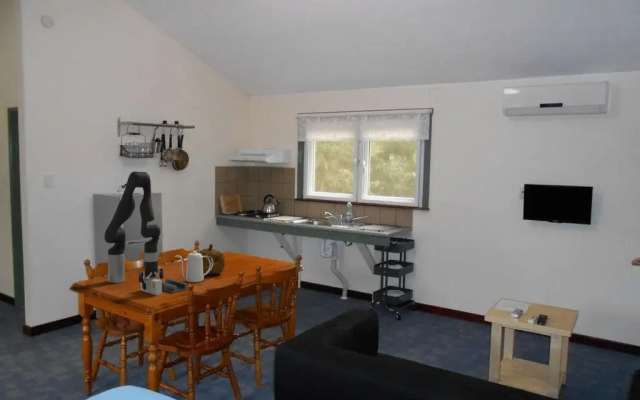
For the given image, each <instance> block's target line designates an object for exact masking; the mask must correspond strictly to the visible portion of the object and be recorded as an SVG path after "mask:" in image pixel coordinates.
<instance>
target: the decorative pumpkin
mask: <svg viewBox="0 0 640 400" xmlns="http://www.w3.org/2000/svg"><path fill="white" fill-rule="evenodd" d="M213 247H214V245H213V244H212V243H211V244H209V246H208V248H207V247H206V248H203V249H201V250H200V251H198V252H197V253H200V254H201V255H202V256H205V257H202V261H203V274H205V273H206V272H207V271H208V269H209V267H210V262H211V266H212V260H213V267H212V269H211V270H210V271H209V273H207V274H206V275H207V276H213V275H219V274H222V272H223V271H224V269H225V265H226V262H225V261H226V260H225V256H224V254H223V252H221V251H219V250H216V249H213ZM208 256H209V257H208ZM210 257H211V258H212V259H211V258H210ZM208 258H209V259H208ZM209 260H210V262H209ZM210 268H211V267H210ZM206 275H205V276H206Z"/></svg>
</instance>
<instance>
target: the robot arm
mask: <svg viewBox="0 0 640 400" xmlns="http://www.w3.org/2000/svg"><path fill="white" fill-rule="evenodd" d="M151 183H152V182H151V176H150V174H149V173H148V172H146V171H132V172H130V173H129V175H128V177H127V180H126V184H125V187H124V191H123V194H122V195H121V198H120V200H119V202H118V204H117V207H116V209H115V212H114V215H113V216H112V219H111V221H110V223H109V224H108V226H107V228H106V230H105V231H104V235H103V236H104V241H105V242H106V243H107V244H114V245H112V246H111V247H110V248H108V250H107V281H108V283H110V284H119V283H124V282H125V280H126V279H125V250H126V232H125V229H124V228H123V227H121V226H123V224H124V223H126V222H127V221H128V220H129V219H130V218H131V217H132V215H133V213H134V212H135V209H136V201H135V198H134V192H135V189H136V188H139V189H140V188H141V189H142V191H143V195H142V199H141V200H140V203H139V204H140V205H139V214H140V218H141V219H140V220H141V225H140V234H141V237H142V238H145V239H148V238H149V239H150V238H151V239H150V240H148V241H145V243H144V245H143V246H144V248H143V249H144V250H143V251H144V254H143V268H144V270H143V271H139V272H138V282H139V283H140V284H141V283H142V288H143V289H144V290H146V281H147V280H148V279H149V278H155V279H158V280H163V279H164V268H162V267H159V255H158V243H159V239H160V235H161V227H160V226H159V225H158V224H148V223H150V222H153V221H154V220H155V215H154V209H153V204H152V184H151ZM143 276H144V277H143ZM146 277H147V278H146Z"/></svg>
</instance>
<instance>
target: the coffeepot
mask: <svg viewBox="0 0 640 400" xmlns="http://www.w3.org/2000/svg"><path fill="white" fill-rule="evenodd" d="M202 257H205V256H202V255H201V254H200V253H198V252H197V250H193V252H190V253H188V254H187V257H186V270H185V271H186V273H185V274H184V265H183V263H184V261H183V257H182V256H181V255H177V254H176V255H175V256H174V258H179V259H180V263H181V265H180V266H181V274H182V278H185V281H187V282H188V283H201V282H203V281H204V279H205V277H204V276H206V274H207V273H209V271H210V270H211V269H212V267H213V260H212V266H211V262H210V260H209V262H210V267H211V268H210V267H209V269H208V271H207V272H206V273H205V274H203V261H202ZM208 257H209V256H208ZM210 258H211V257H210ZM208 259H209V258H208ZM211 259H212V258H211Z"/></svg>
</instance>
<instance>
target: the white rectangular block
mask: <svg viewBox="0 0 640 400" xmlns="http://www.w3.org/2000/svg"><path fill="white" fill-rule="evenodd" d="M144 276H145V275H143V277H144ZM146 278H147V277H146ZM162 282H163V279H161V280H158V279H156V278H155V277H154V278H153V277H152V278H149V279H148V280H147V281H146V290H144V289H143V288H142V283H141V282H140V291H142V292H144V293H148V294H151V295H154V296H160V295H163V290H162Z"/></svg>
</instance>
